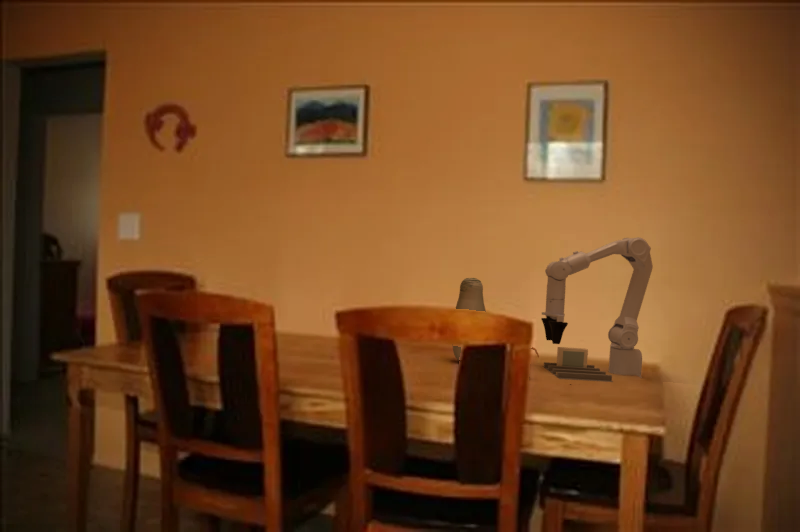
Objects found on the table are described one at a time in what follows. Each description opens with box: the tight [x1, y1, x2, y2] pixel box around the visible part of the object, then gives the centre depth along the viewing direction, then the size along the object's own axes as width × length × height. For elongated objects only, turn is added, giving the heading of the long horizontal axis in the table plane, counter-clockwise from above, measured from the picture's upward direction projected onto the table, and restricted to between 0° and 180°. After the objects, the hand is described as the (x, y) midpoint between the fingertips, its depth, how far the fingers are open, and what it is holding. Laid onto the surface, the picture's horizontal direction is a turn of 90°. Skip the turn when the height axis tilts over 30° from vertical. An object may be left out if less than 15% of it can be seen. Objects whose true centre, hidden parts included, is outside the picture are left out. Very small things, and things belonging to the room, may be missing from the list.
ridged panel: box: [542, 361, 614, 383], centre depth 194 cm, size 16×20×2 cm
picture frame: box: [556, 346, 589, 368], centre depth 199 cm, size 9×2×7 cm, turn 91°
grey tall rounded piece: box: [452, 277, 487, 361], centre depth 207 cm, size 10×10×28 cm
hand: (552, 342), depth 199 cm, fingers open, 7 cm apart
